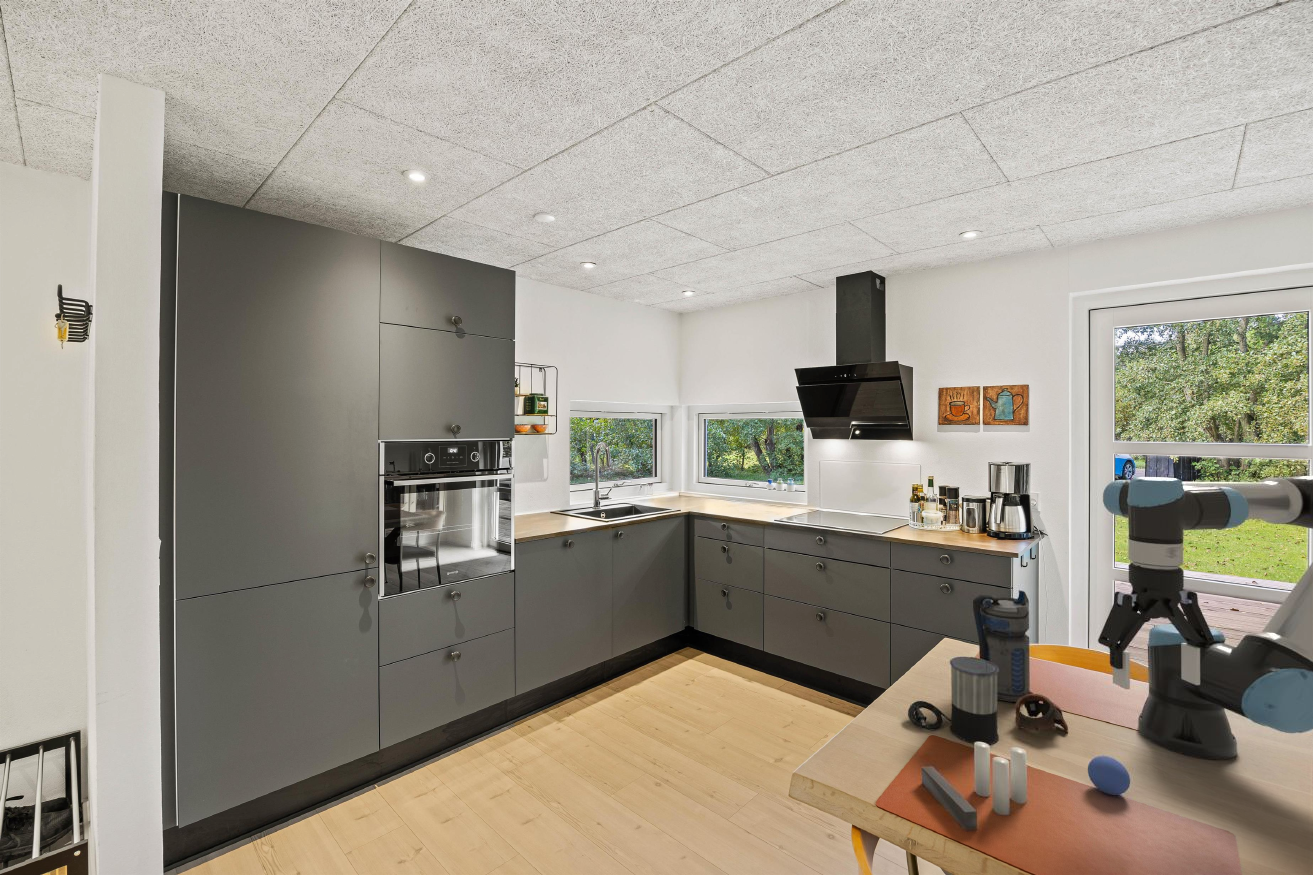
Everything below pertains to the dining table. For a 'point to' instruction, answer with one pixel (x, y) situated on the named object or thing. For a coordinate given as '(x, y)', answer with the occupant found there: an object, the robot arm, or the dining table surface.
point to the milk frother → (967, 702)
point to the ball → (1108, 775)
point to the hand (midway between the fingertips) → (1156, 684)
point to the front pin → (1018, 775)
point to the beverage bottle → (1005, 641)
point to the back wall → (949, 798)
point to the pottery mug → (1034, 708)
